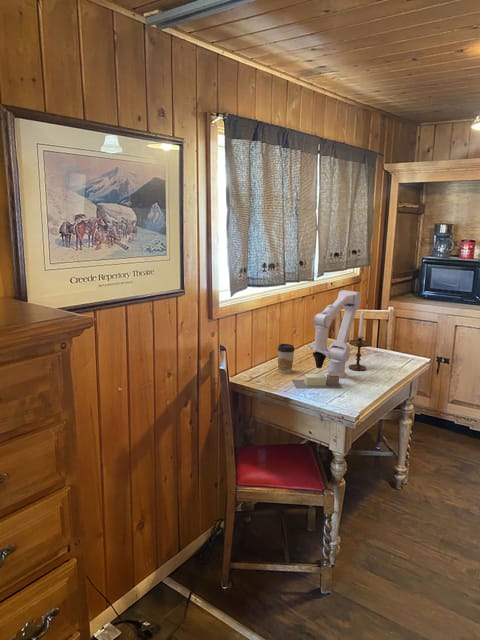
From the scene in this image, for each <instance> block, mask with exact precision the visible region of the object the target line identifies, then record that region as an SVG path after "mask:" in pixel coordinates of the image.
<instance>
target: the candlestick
mask: <svg viewBox="0 0 480 640" xmlns="http://www.w3.org/2000/svg"><path fill="white" fill-rule="evenodd" d="M359 316H360V317H359V326H358V336H356V338H357V339H350V340H349V341H348V345H350V346H354V347H356V348H357V353H356V354H355V356H356V358H355V360H356V363H354V364H349V365H348V369H349V370H351V371H354V372H355V371H356V372H365V371H367V366H365V365H362V364H360V361H361V357H362V354H361V348H367V347H371V342H370V341H367V340H365V339H364V338H365V337H364V336H363V330H364V318H365V312H364V305H363V304H361V311H360V313H359Z"/></svg>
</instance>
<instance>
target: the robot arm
mask: <svg viewBox="0 0 480 640" xmlns="http://www.w3.org/2000/svg"><path fill="white" fill-rule="evenodd" d="M361 302H362V295H361V293H360V292H359V291H353V290H345V289H341V290H340V291H339V292H338V295H337V298H336V300H335V301H333V303H332V304H328V305H327V306H326V307H325V308H324V309H323V310H322V311H321V312H320V313H319V312H318V313H316V314H315V315H314V317H313V324H314V329H315V332H314V333H315V335H314V344H310V346H309V347H310V348H309V349H310V350H312V351H313V352H312V355H313V358H314V362H315V366H316V368H317V369H322V368H323V365H324V362H325V360H326V358H328V361H329V362H328V365H327V366H328V368H327V373H328V374H329V371H343V372H344V373H345V371H346V363H347V362H348V361H349V359H350V356H351V347H350V346H349V343H348V340H349V337H350V333H351V329H352V326H353V322H354V319H355V315H356V312H357V311H358V310H359V309H360V306H361ZM341 308H343V309H344V313H343V315H342V321H341V324H340V326H339V330H338V334H337V338H336V340H334V341H333V342H331V343H330V345H329V347H328V337H329V328H330V326H331V324H332V322H333V320H334V319H335V317H336V316H337V315H338V314H339V310H340V309H341ZM344 377H345V375H344V376H339V379H342V378H344Z"/></svg>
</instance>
